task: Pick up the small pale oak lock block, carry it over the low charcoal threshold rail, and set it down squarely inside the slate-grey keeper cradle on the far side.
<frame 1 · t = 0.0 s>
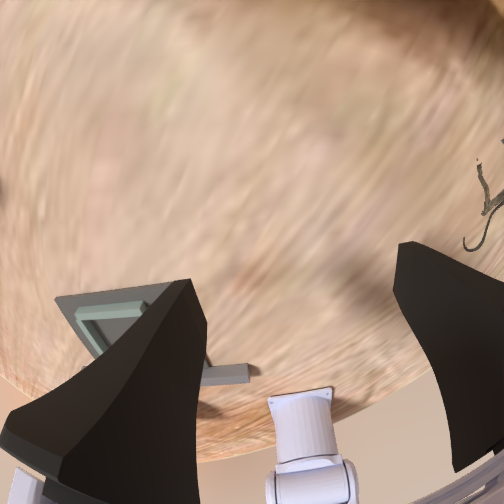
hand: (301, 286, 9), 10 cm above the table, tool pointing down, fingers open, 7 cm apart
keeper cradle: (128, 334, 24), on the table
threshold rail: (154, 372, 27), on the table
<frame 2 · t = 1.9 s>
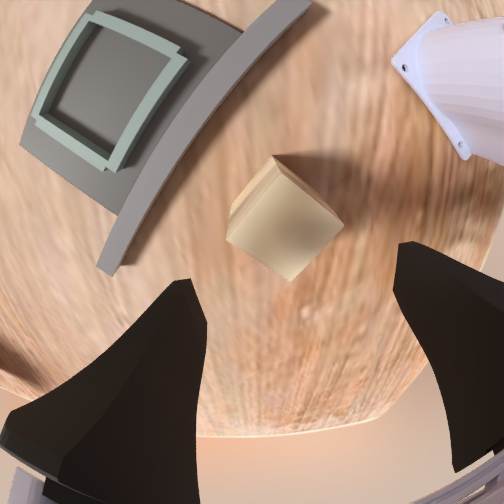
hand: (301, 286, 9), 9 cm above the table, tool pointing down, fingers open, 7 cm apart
lock block: (276, 198, 17), on the table
keeper cradle: (105, 86, 13), on the table
threshold rail: (183, 134, 15), on the table
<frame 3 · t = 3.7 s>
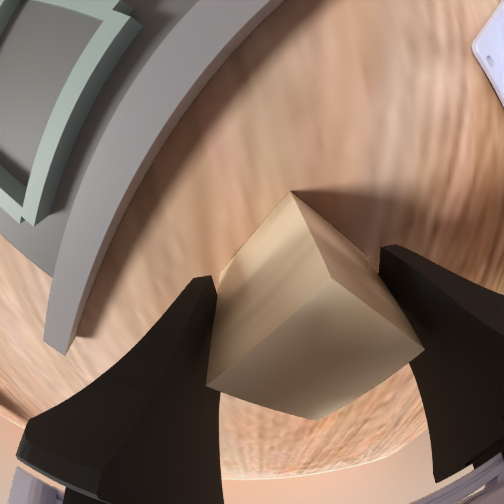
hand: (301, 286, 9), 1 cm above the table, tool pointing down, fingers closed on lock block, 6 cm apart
lock block: (295, 263, 10), on the table, touching gripper
keeper cradle: (24, 85, 6), on the table
threshold rail: (133, 154, 8), on the table
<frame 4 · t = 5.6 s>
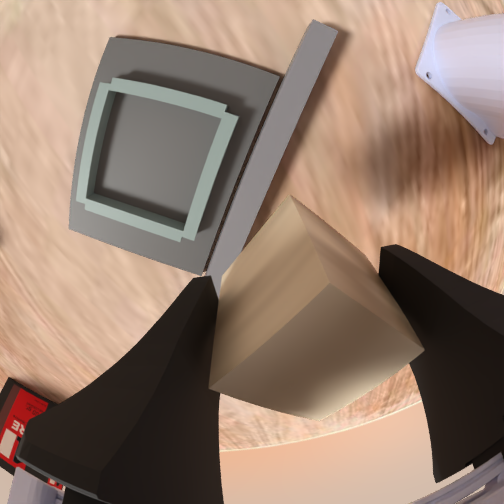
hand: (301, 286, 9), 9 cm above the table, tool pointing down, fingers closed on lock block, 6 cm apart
lock block: (295, 265, 10), point 8 cm above the table, touching gripper
keeper cradle: (152, 155, 15), on the table
threshold rail: (250, 188, 16), on the table
cleaning product box: (43, 402, 36), on the table
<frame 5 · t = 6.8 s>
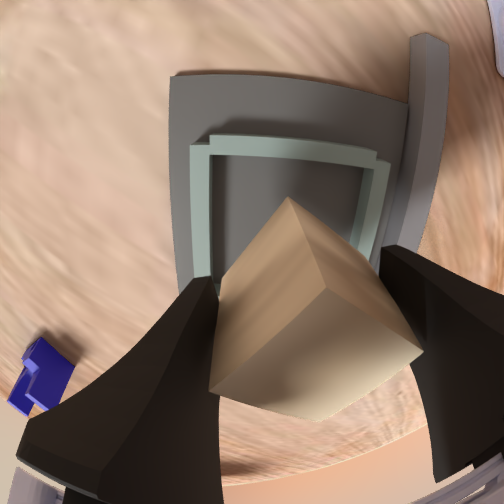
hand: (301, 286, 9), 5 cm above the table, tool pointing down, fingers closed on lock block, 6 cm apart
lock block: (295, 267, 10), point 4 cm above the table, touching gripper
blue notched block: (41, 361, 21), on the table
keeper cradle: (284, 223, 13), on the table
threshold rail: (396, 231, 14), on the table
when the fingers open (3 cm above the table, at t = 7.7 s): lock block drops 2 cm, resting on keeper cradle.
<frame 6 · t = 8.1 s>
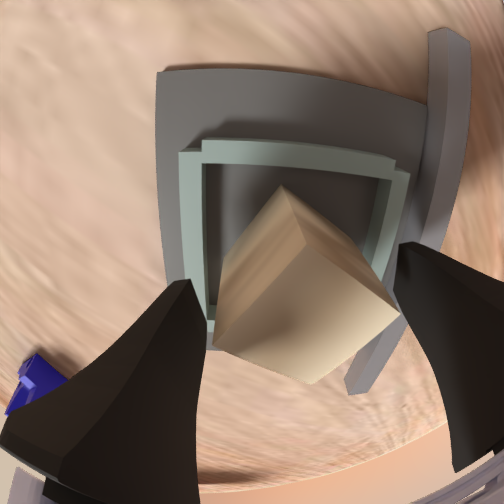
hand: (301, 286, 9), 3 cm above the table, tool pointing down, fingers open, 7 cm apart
lock block: (288, 247, 12), resting on keeper cradle
blue notched block: (38, 375, 20), on the table
keeper cradle: (288, 240, 12), on the table
threshold rail: (410, 246, 12), on the table
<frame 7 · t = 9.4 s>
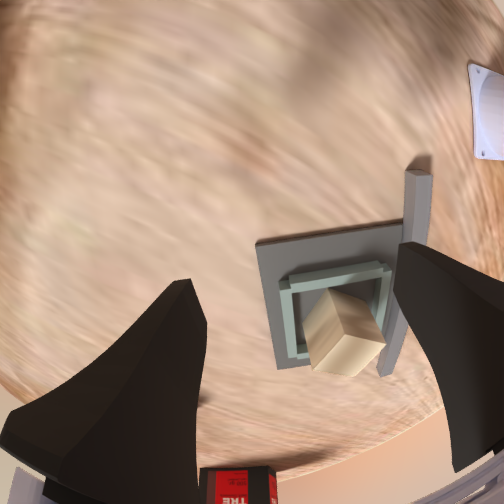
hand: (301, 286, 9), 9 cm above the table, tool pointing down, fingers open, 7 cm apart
lock block: (334, 312, 21), resting on keeper cradle
keeper cradle: (333, 307, 22), on the table
threshold rail: (400, 293, 21), on the table
cleaning product box: (238, 471, 49), on the table
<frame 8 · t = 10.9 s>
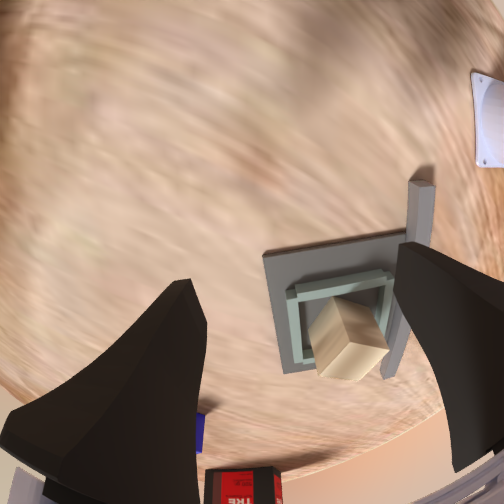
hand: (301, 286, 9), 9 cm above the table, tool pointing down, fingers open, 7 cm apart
lock block: (338, 318, 22), resting on keeper cradle
blue notched block: (169, 418, 33), on the table
keeper cradle: (337, 314, 22), on the table
threshold rail: (403, 299, 22), on the table
cleaning product box: (243, 471, 49), on the table
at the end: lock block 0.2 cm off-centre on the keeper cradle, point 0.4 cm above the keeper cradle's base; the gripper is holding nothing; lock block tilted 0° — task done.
